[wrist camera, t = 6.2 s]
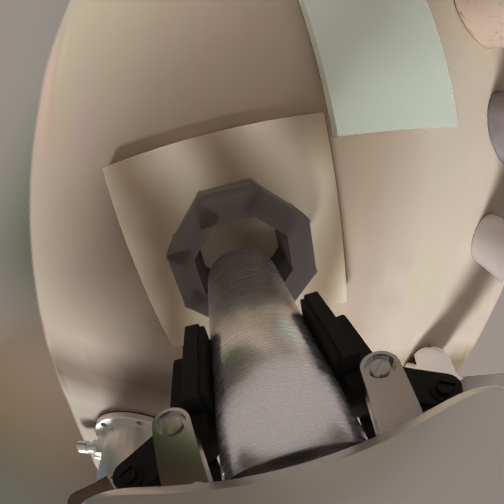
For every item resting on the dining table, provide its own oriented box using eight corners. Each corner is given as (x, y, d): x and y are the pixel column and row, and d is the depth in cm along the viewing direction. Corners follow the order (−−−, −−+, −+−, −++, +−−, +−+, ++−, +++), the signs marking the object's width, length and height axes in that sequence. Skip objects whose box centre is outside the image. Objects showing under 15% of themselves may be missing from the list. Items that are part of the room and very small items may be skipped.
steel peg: (196, 257, 15) (196, 519, 3) (271, 237, 16) (413, 458, 4) (217, 319, 17) (248, 542, 5) (284, 301, 17) (381, 504, 5)
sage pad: (332, 136, 20) (338, 136, 19) (292, -16, 15) (296, -21, 14) (451, 126, 21) (458, 127, 20) (420, 1, 15) (426, -1, 14)
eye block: (173, 337, 25) (168, 380, 20) (108, 165, 19) (78, 175, 14) (340, 293, 26) (366, 327, 21) (316, 113, 19) (348, 107, 14)
